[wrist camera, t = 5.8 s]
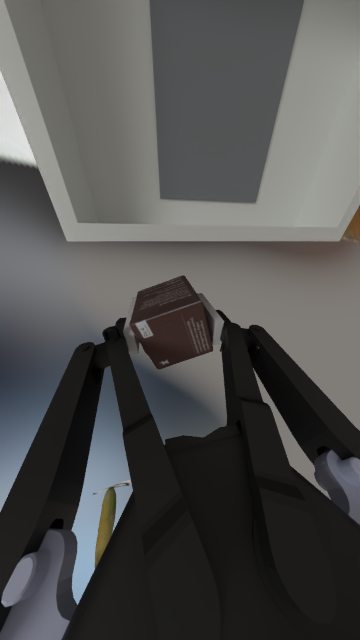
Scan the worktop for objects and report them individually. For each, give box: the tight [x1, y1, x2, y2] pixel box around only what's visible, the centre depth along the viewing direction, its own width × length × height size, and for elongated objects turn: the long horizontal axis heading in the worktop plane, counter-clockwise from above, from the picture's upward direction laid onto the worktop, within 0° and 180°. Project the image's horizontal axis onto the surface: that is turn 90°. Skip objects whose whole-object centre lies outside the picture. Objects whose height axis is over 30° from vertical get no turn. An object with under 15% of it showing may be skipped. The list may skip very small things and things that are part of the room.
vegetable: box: [95, 487, 116, 568], centre depth 59 cm, size 6×6×20 cm
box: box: [129, 276, 213, 369], centre depth 15 cm, size 6×6×7 cm
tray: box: [0, 0, 360, 241], centre depth 8 cm, size 22×15×5 cm
